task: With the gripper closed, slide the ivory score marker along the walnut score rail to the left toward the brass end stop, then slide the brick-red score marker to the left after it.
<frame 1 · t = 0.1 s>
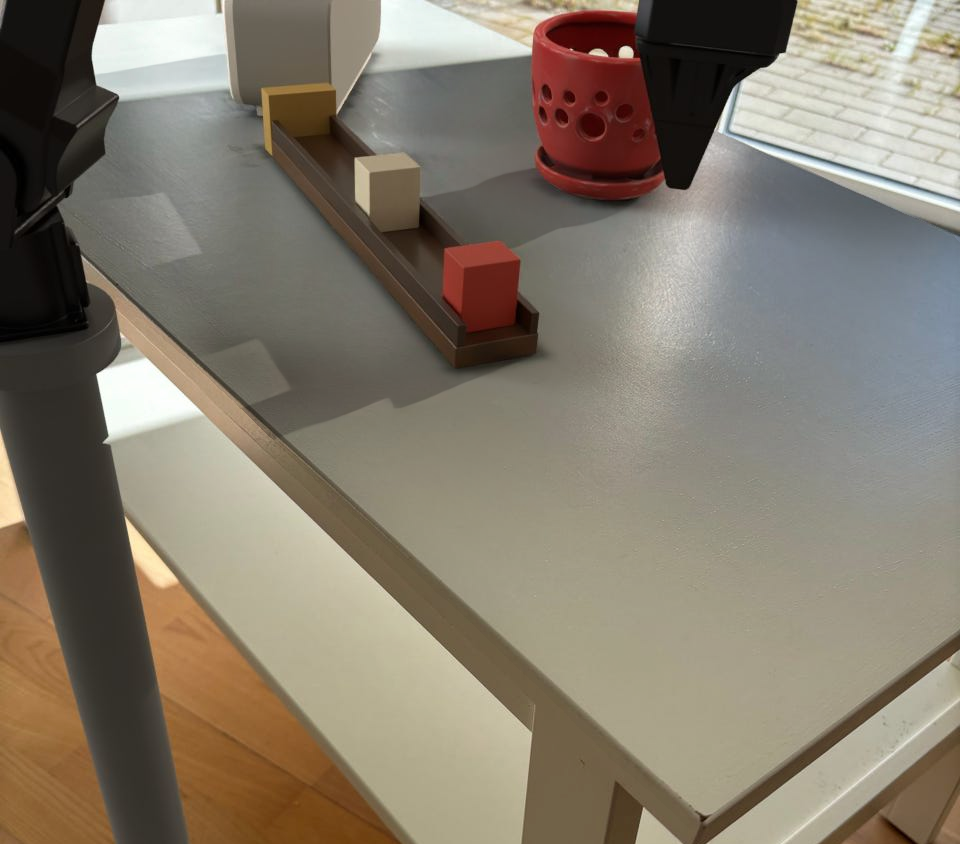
hand: (679, 154, 56), 16 cm above the table, tool pointing down, fingers open, 9 cm apart
score rail: (387, 242, 83), on the table
left stop: (301, 149, 96), on the table
marker b: (387, 193, 81), point 4 cm above the table, slide at 0.0 cm, touching score rail
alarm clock: (313, 84, 109), on the table
marker a: (480, 287, 70), point 4 cm above the table, slide at 0.0 cm, touching score rail
flower pot: (595, 184, 95), on the table
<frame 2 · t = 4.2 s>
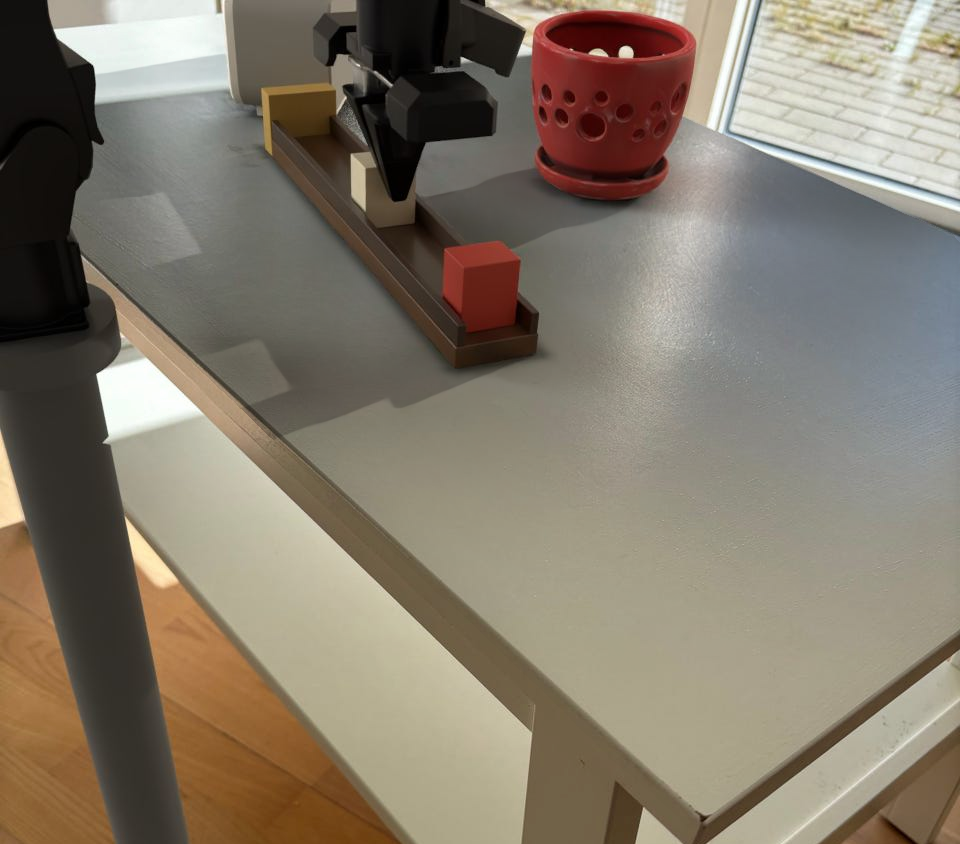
hand: (397, 199, 79), 4 cm above the table, tool pointing down, fingers closed
marker b: (383, 189, 81), point 4 cm above the table, slide at 0.8 cm, touching gripper, score rail
everything else where it was.
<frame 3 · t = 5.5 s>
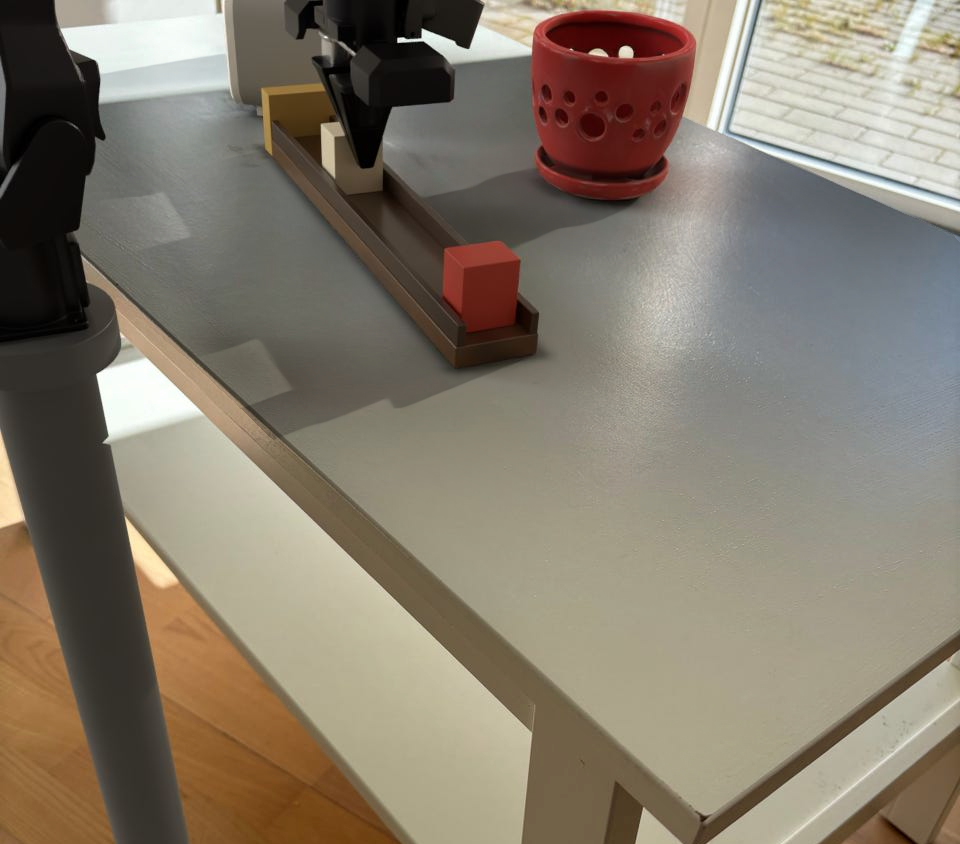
hand: (365, 167, 83), 4 cm above the table, tool pointing down, fingers closed
marker b: (352, 157, 85), point 4 cm above the table, slide at 7.3 cm, touching gripper, score rail
everything else where it was.
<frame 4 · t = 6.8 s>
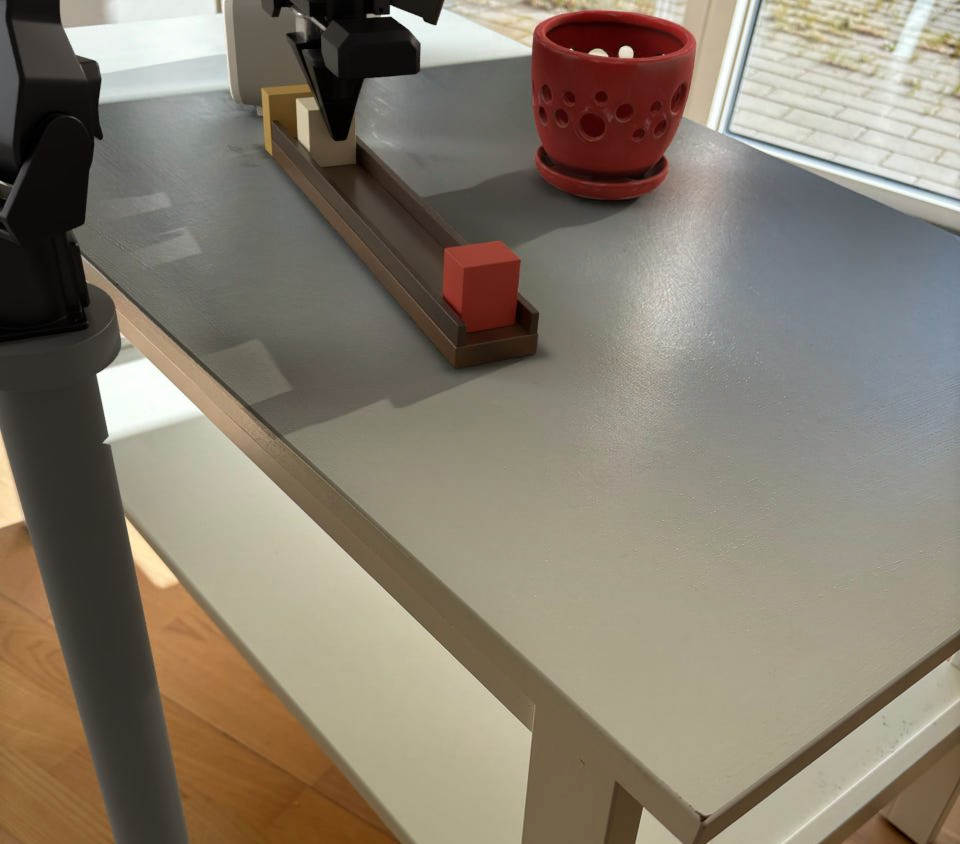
hand: (339, 139, 87), 4 cm above the table, tool pointing down, fingers closed
marker b: (326, 131, 89), point 4 cm above the table, slide at 13.2 cm, touching gripper, score rail
everything else where it was.
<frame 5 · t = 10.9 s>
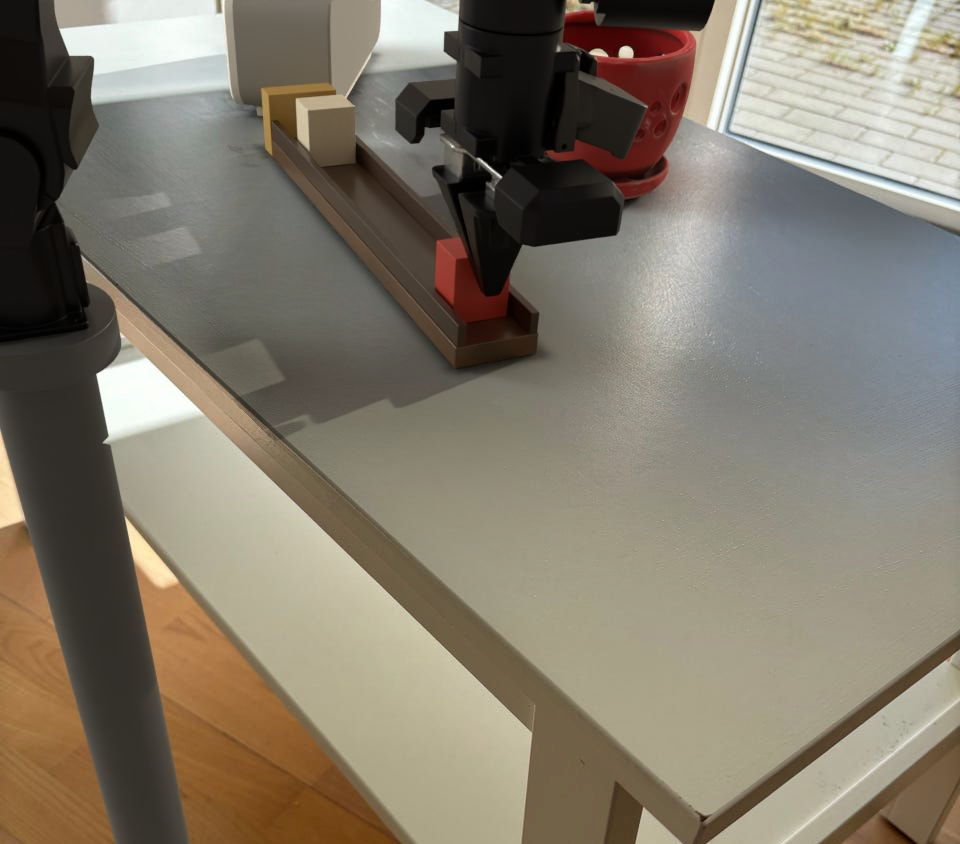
hand: (490, 293, 69), 4 cm above the table, tool pointing down, fingers closed
marker b: (326, 131, 89), point 4 cm above the table, slide at 13.3 cm, touching score rail
marker a: (472, 279, 71), point 4 cm above the table, slide at 1.2 cm, touching gripper, score rail
everything else where it was.
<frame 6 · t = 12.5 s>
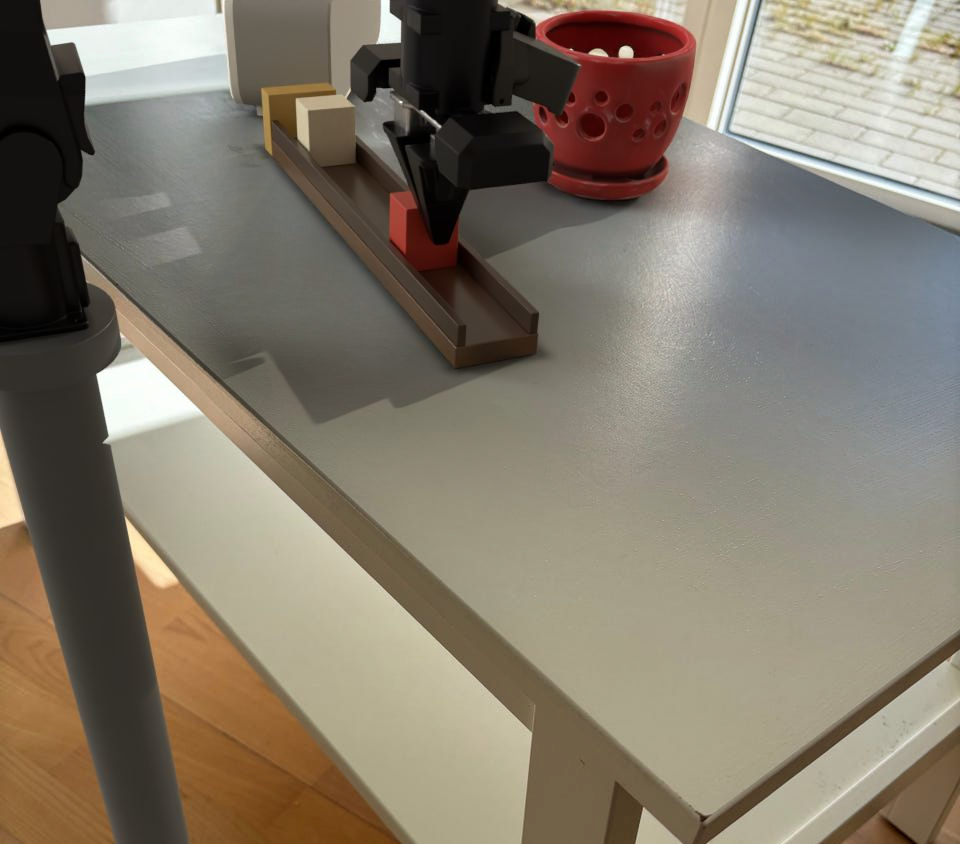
hand: (439, 242, 74), 4 cm above the table, tool pointing down, fingers closed
marker a: (423, 230, 76), point 4 cm above the table, slide at 9.2 cm, touching gripper, score rail
everything else where it was.
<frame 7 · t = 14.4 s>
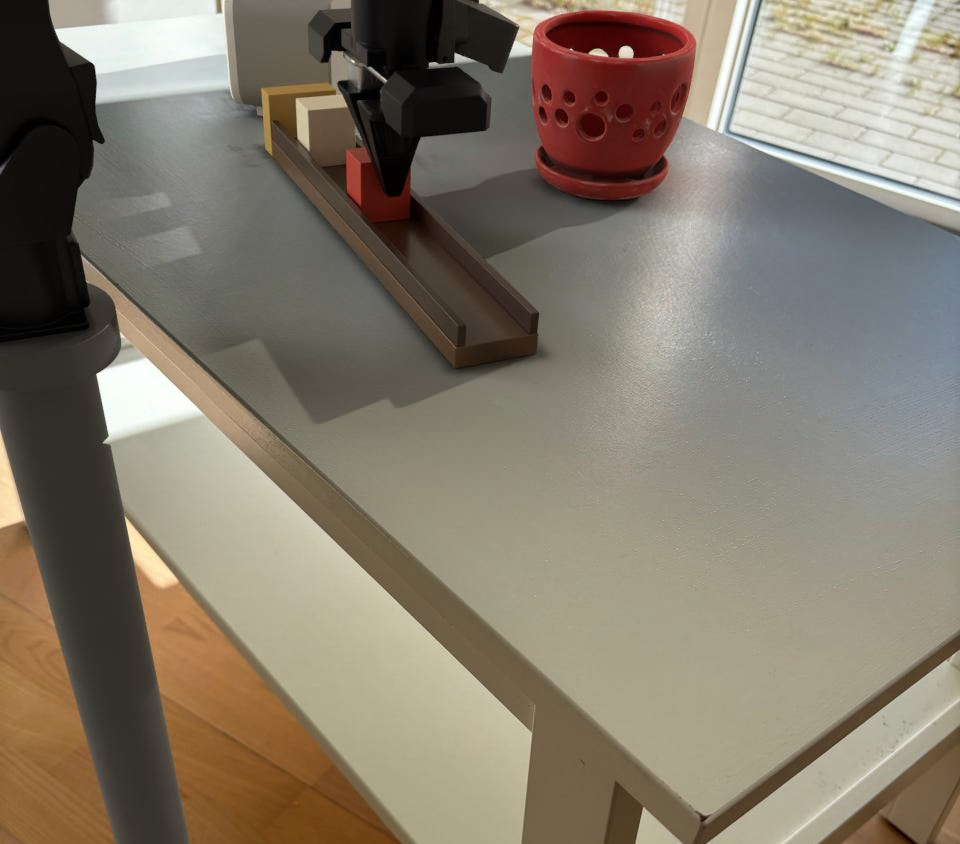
hand: (392, 195, 80), 4 cm above the table, tool pointing down, fingers closed
marker a: (378, 184, 82), point 4 cm above the table, slide at 17.8 cm, touching gripper, score rail
everything else where it was.
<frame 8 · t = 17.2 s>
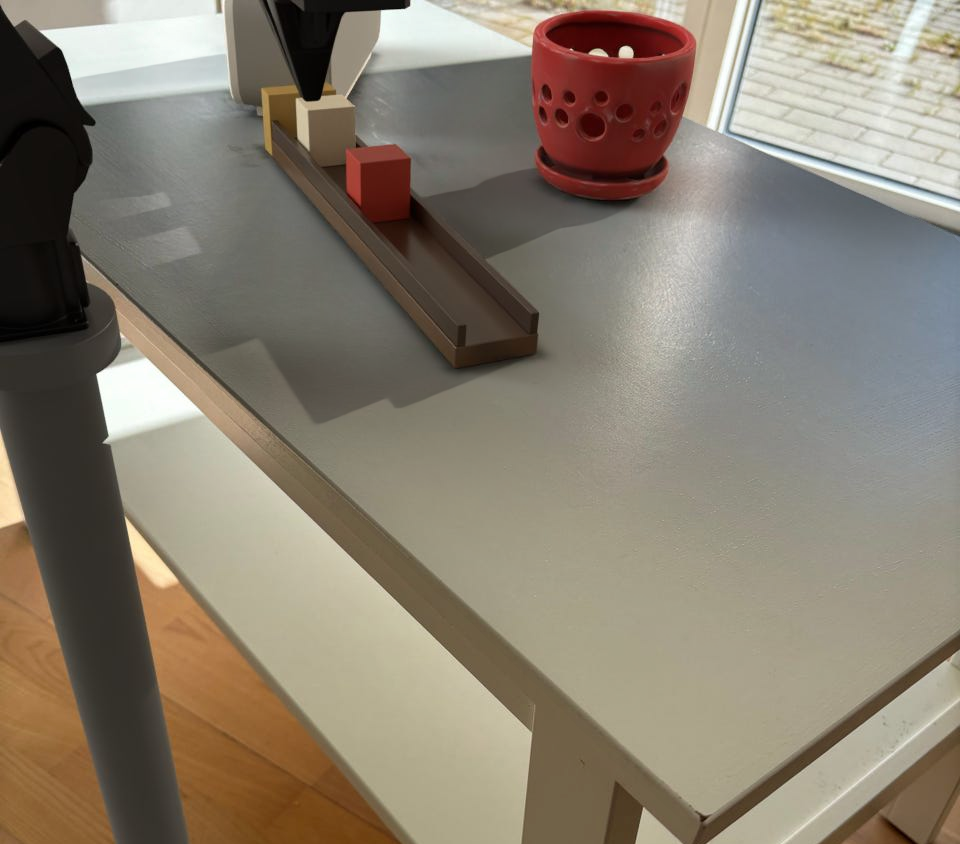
hand: (310, 99, 70), 12 cm above the table, tool pointing down, fingers closed
marker a: (378, 184, 82), point 4 cm above the table, slide at 17.8 cm, touching score rail
everything else where it was.
at the end: marker b slide at 13.3 cm; marker b 6.7 cm from the left stop (horizontally); marker a slide at 17.8 cm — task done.
